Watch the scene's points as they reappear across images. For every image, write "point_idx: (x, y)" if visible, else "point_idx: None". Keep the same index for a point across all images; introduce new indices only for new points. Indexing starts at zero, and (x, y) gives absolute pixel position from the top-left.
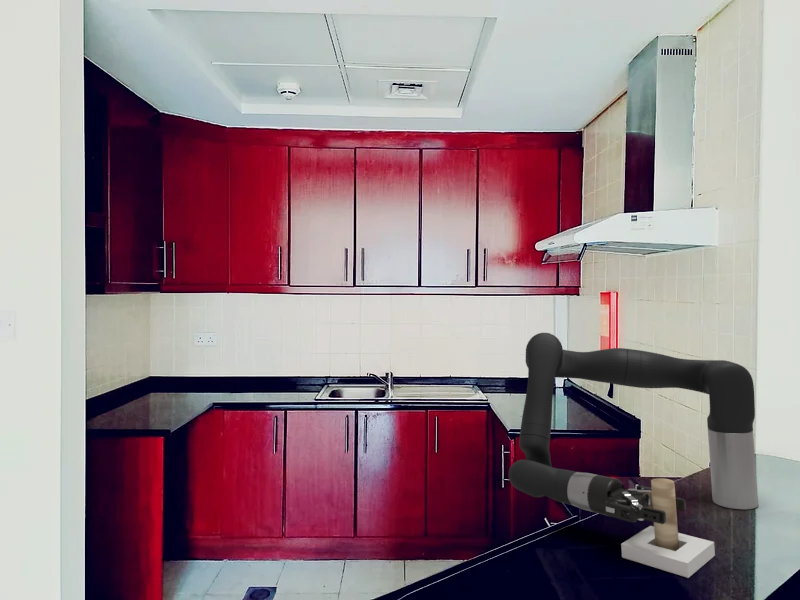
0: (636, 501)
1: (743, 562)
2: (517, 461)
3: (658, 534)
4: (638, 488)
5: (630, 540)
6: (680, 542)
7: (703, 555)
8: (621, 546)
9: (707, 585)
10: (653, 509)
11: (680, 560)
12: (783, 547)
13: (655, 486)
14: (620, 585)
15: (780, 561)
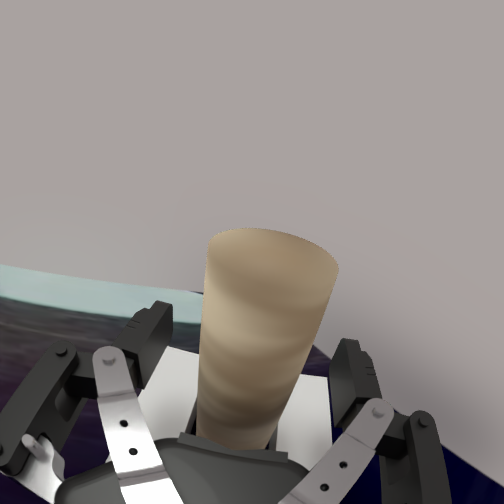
0: (351, 436)
1: (174, 333)
2: None
3: (271, 435)
4: (14, 462)
5: None
6: (192, 411)
7: None
8: None
9: (314, 372)
10: (360, 365)
11: (323, 389)
12: (92, 287)
13: (332, 288)
14: None
15: (149, 296)
